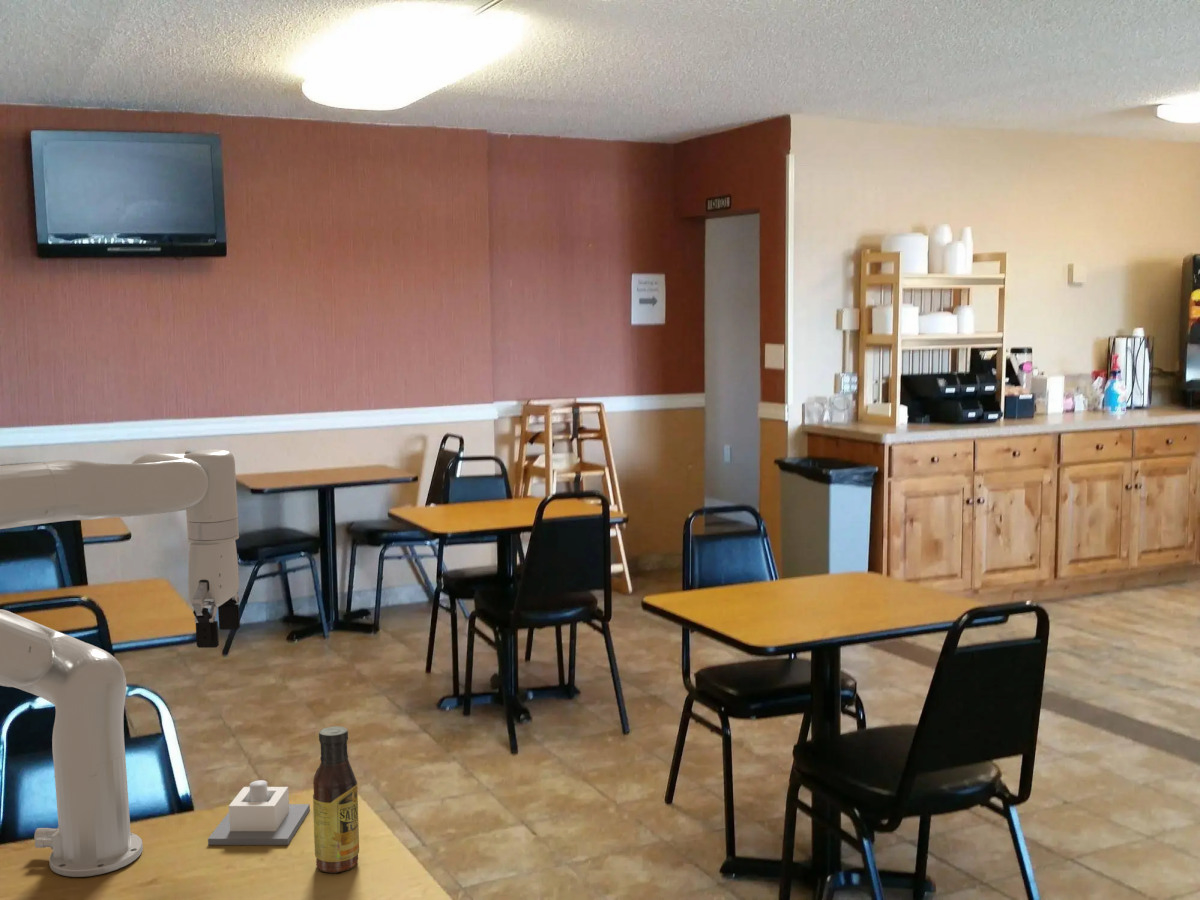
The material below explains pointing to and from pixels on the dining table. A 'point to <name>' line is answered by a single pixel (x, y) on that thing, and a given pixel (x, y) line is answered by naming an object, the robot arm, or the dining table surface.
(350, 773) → the sauce bottle
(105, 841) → the robot arm
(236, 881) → the dining table surface
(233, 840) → the post base
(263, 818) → the white block
